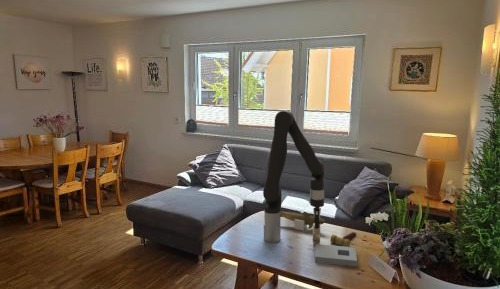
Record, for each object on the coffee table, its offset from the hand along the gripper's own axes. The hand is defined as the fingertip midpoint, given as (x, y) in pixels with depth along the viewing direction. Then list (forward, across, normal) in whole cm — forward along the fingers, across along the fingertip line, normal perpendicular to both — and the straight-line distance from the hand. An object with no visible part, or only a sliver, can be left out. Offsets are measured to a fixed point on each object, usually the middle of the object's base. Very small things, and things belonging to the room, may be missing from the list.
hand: (317, 225), depth 177 cm
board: (+12, +12, +10) cm, 19 cm away
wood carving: (+12, -22, -13) cm, 28 cm away
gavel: (+13, -10, +17) cm, 23 cm away
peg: (+12, 0, 0) cm, 12 cm away
